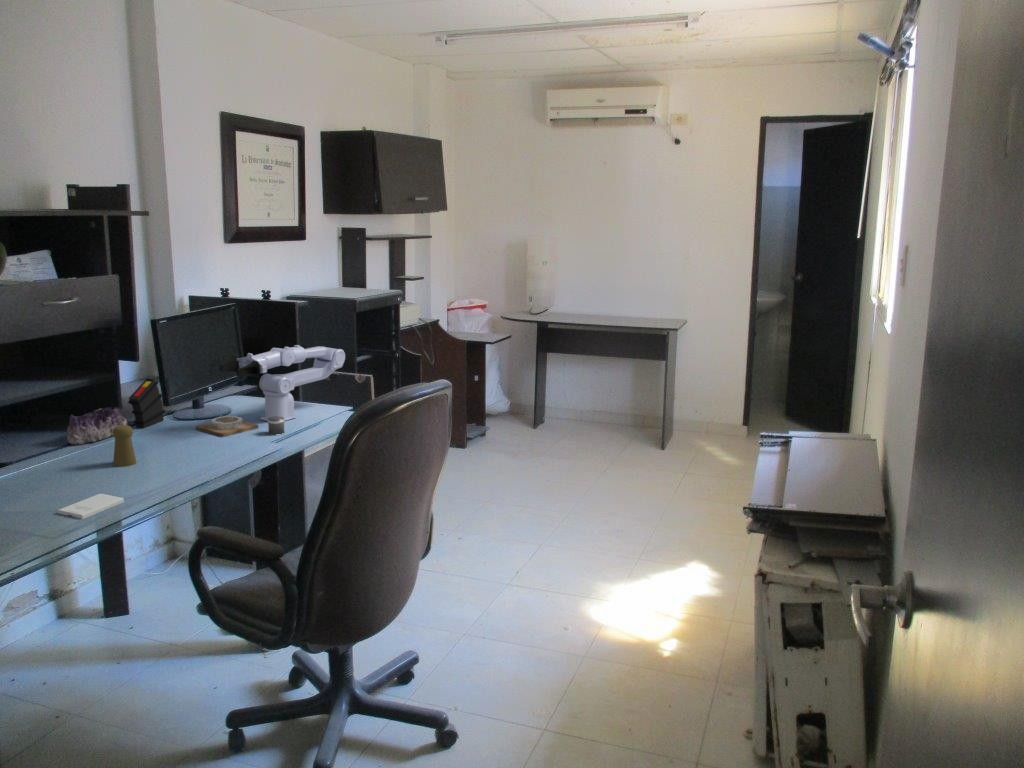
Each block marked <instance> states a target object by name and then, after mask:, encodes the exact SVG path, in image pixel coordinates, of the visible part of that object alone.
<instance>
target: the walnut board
mask: <svg viewBox="0 0 1024 768" xmlns="http://www.w3.org/2000/svg"><path fill="white" fill-rule="evenodd" d="M242 423H243V425H242V426H241V427H239V428H235V429H227V430H223V429H215V428H213V427H212V421H211V422H208V423H204V424H200V425H196V426H195V430H198V431H201V432H204V433H209V434H211V435H216V436H218V437H222V438H224V437H229V436H231V435H235V434H240V433H244V432H248V431H252V430H256V429H259V424H256V423H252V422H247V421H245V420H242Z"/></svg>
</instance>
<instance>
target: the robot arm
mask: <svg viewBox="0 0 1024 768" xmlns="http://www.w3.org/2000/svg"><path fill="white" fill-rule="evenodd" d="M306 359H314V361H313V365H312V367H309V368H305V369H300V370H296V371H292V372H288V373H282V374H281V373H279V374H278V373H277V374H276V373H275V374H271V373H268V370H270V369H274V368H276V367H280V366H283V367H290V366H291V365H293V364H299V363H304V362H305V361H306ZM345 360H346V353H345V351H344V349H341V348H334V347H333V348H332V347H326V346H325V345H324V346H319V345H318V346H313V347H307V348H304V347H302V346H301V345H299V344H295V345H293V346H292V347H289V346H284V348H280V347H272V348H270V350H269V351H266V352H262V353H261V352H260V353H258V354H255V355H254V354H253V353H250V352H248V353H247V354H246V356H243V357H240V358H238V356H237V355H231V356H230V358H229V359H228V360H226V362H224V363H222V364H221V365H219V366H220V367H219V369H220V371H219V372H221V373H226V372H228V373H229V372H234V373H236V376H237V377H240V378H241V377H242V378H243V377H252V378H257V379H258V378H259V377H260V374H263V375H262V376H261V377H260V379H259V382H258V383H259V388H260V390H261V391H262V393H263V395H264V405H265V407H264V408H265V411H264V412H265V416H262V417H259V418H260V420H262V421H265V422H268V418H270V417H274V416H280V417H284V422H285V421H289V420H292V419H296V417H297V416H295V399H294V396H293V395H292V393H291V391H294V390H295V388H296V387H299V386H302V385H307V384H311V383H314V382H319V381H322V380H325V379H327V378H328V377H329V376H331V375H332V374H333V373H334V372H335V371H336V370H338V369H340V368H341V369H342V368H343V366H344V364H345Z"/></svg>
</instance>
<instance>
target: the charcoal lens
mask: <svg viewBox="0 0 1024 768" xmlns="http://www.w3.org/2000/svg"><path fill="white" fill-rule="evenodd" d="M267 425H268V435H270V434H272V435H271V436H277V435H276V434H281V435H283V434H282V433H284V434H285V421H284V417H280V416H274V417H270V418H268V421H267Z"/></svg>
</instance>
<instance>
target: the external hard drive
mask: <svg viewBox="0 0 1024 768" xmlns="http://www.w3.org/2000/svg"><path fill="white" fill-rule="evenodd" d="M123 503H125V498H124V497H120V496H114V495H111V494H106V493H97V494H96V495H92V496H90V497H88V498H85V499H83V500H80V501H78V502H74V503H73V504H70V505H67V506H65V507H62V508H60V509H57V511H56V512H57V514H60V515H64V516H70V517H72V518H78V519H82V520H84V519H86V518H88V517H90V516H91V517H92V516H94V515H96V514H98V513H101V512H104V511H105V510H108V509H110V508H113V507H115V506H118V505H120V504H123Z"/></svg>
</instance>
